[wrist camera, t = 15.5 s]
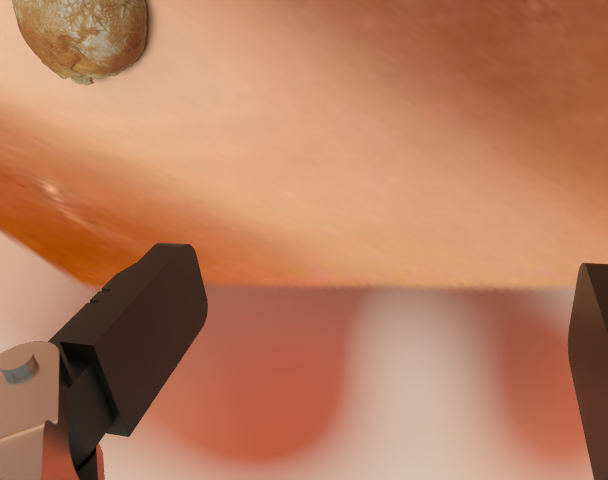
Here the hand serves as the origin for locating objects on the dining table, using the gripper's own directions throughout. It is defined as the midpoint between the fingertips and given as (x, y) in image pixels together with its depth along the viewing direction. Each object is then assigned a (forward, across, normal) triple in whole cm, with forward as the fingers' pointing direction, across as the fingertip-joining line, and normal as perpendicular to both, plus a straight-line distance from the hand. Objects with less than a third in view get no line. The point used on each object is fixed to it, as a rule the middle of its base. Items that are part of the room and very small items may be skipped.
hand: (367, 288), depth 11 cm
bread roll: (+30, +27, -3) cm, 41 cm away
